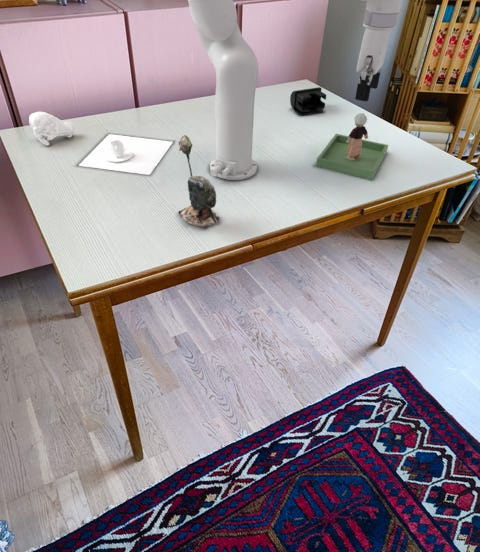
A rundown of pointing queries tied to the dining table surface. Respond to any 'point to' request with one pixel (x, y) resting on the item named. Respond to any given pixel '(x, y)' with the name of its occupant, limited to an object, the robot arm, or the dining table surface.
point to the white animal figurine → (49, 126)
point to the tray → (362, 167)
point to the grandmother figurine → (357, 137)
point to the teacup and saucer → (127, 154)
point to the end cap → (307, 101)
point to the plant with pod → (198, 195)
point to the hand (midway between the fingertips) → (366, 93)
